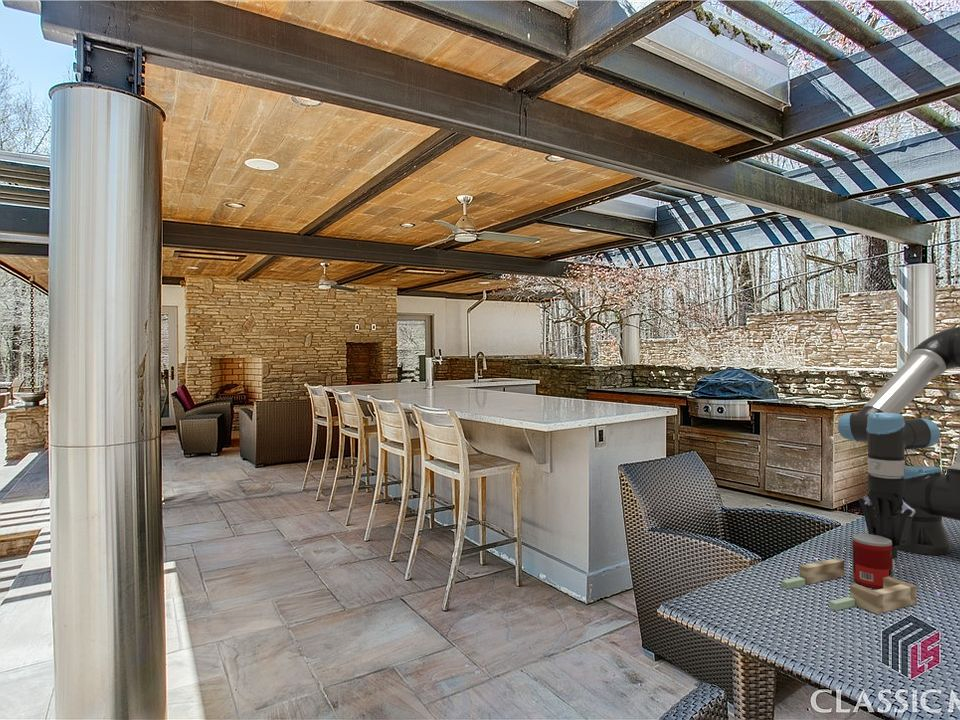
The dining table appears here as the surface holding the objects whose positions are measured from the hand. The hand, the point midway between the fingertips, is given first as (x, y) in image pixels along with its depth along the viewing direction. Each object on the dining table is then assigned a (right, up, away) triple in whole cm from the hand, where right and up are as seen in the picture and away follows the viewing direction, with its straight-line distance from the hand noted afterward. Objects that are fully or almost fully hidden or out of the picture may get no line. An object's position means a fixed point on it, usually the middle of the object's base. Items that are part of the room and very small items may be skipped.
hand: (887, 570), depth 140 cm
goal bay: (-23, -3, -8) cm, 24 cm away
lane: (-13, -3, -7) cm, 15 cm away
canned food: (-5, -3, -2) cm, 6 cm away
